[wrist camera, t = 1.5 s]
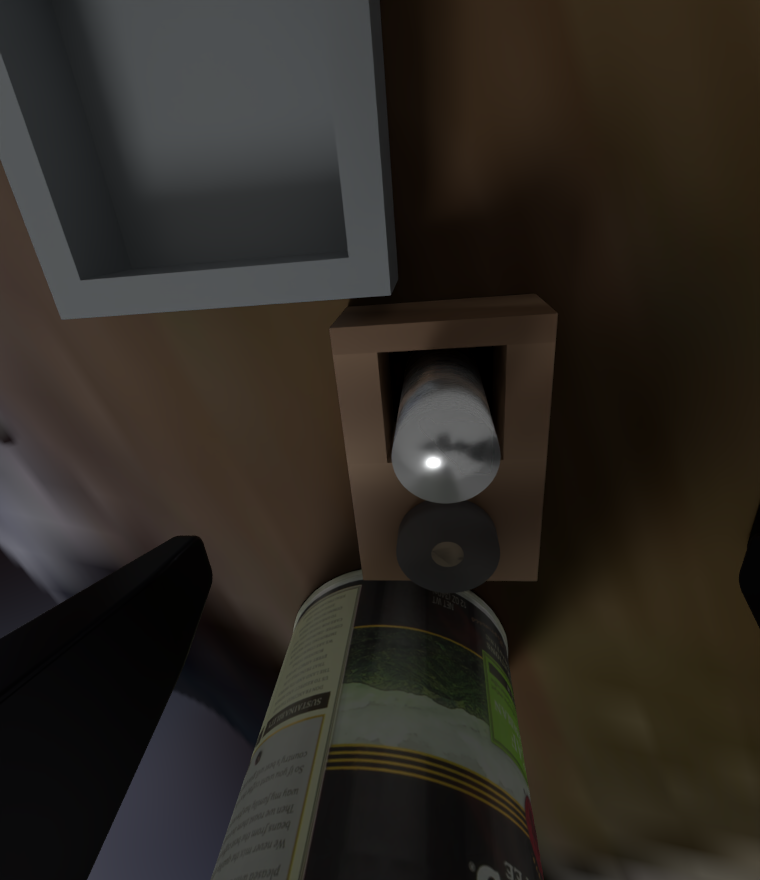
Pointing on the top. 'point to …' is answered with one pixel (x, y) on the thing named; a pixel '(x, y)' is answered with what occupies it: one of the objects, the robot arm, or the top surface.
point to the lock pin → (444, 428)
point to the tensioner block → (515, 421)
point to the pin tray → (199, 151)
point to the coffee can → (387, 746)
